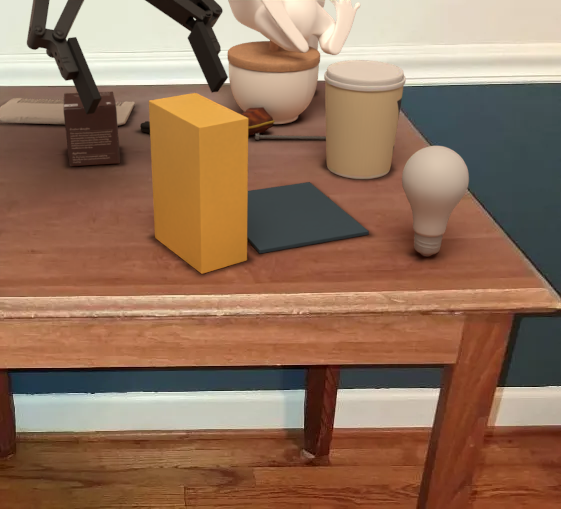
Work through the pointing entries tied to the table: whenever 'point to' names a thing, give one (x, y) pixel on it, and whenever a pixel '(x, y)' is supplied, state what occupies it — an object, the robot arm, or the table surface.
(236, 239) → the cereal box
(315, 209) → the slate mat
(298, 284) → the table surface
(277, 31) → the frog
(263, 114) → the toy gun
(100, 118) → the box
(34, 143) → the table surface
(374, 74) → the coffee cup
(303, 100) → the lidded bowl
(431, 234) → the lightbulb
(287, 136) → the screw
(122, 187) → the table surface
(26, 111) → the grooming comb
